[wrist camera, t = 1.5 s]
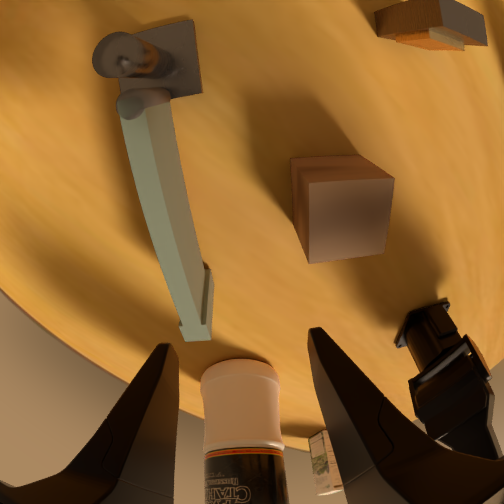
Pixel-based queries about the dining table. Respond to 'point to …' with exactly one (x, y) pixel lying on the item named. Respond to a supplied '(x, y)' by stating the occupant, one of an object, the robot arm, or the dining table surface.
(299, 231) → the reddish brown cube
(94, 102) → the dining table surface
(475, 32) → the latch stile
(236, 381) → the vodka
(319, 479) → the syrup box
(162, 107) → the grey slab
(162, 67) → the hinge post
